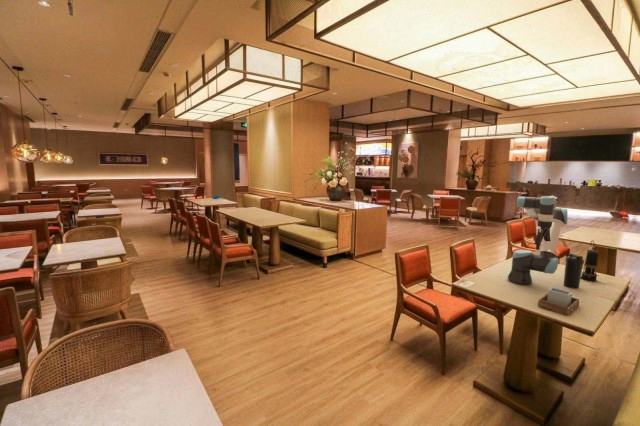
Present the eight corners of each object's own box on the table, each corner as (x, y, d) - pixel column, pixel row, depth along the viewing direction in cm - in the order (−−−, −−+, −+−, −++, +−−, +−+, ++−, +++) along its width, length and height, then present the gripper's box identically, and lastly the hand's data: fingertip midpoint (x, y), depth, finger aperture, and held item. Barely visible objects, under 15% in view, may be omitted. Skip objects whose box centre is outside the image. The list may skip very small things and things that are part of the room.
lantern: (599, 281, 231) (605, 241, 226) (590, 282, 228) (596, 242, 223) (586, 276, 239) (591, 238, 234) (577, 278, 237) (583, 239, 232)
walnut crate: (549, 297, 202) (550, 291, 202) (578, 306, 191) (579, 299, 190) (537, 306, 190) (538, 299, 190) (568, 315, 179) (569, 308, 178)
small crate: (550, 300, 196) (552, 287, 195) (570, 306, 189) (572, 292, 187) (546, 303, 192) (548, 289, 191) (566, 309, 184) (568, 295, 183)
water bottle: (568, 282, 228) (572, 252, 224) (583, 288, 218) (588, 256, 214) (558, 284, 224) (562, 253, 221) (573, 289, 215) (578, 257, 211)
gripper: (545, 217, 210) (541, 248, 214) (530, 221, 196) (527, 254, 199) (558, 219, 205) (554, 250, 208) (544, 223, 190) (540, 257, 193)
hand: (541, 252), depth 203 cm, fingers open, 13 cm apart
